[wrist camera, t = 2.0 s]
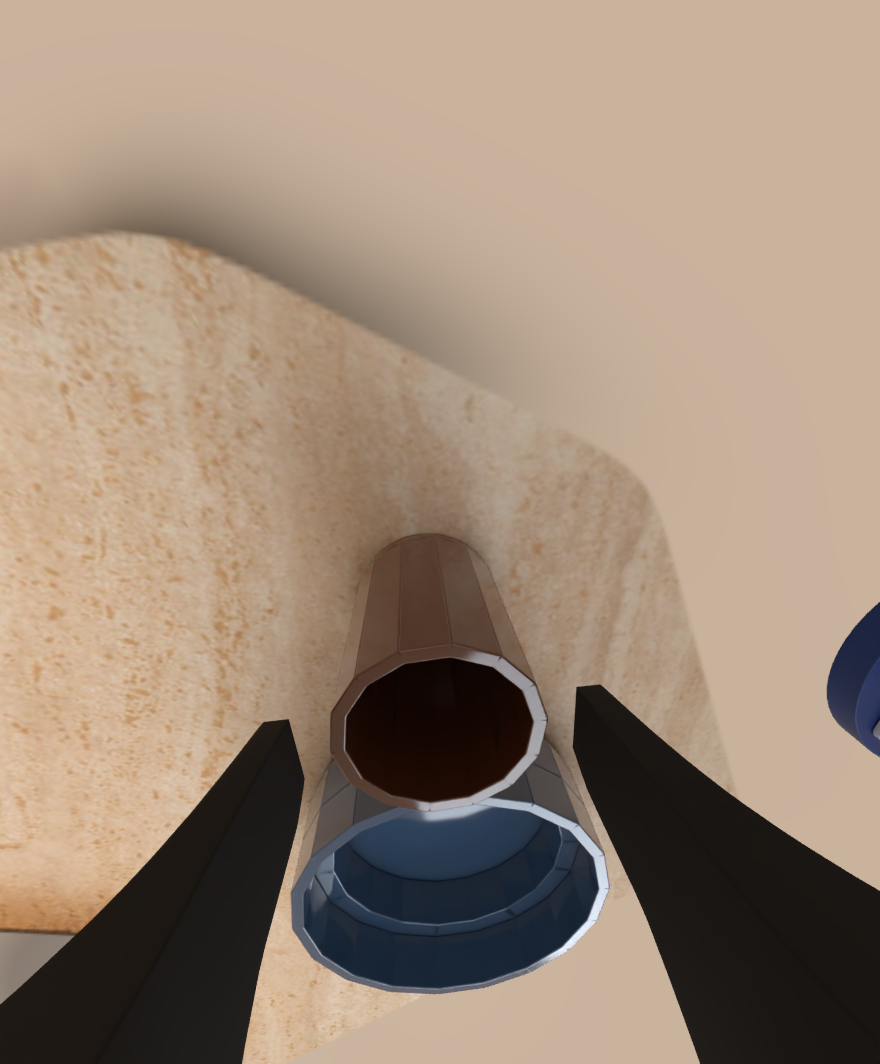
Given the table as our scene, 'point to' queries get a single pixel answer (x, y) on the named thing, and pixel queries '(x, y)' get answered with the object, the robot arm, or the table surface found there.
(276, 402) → the table surface
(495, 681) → the cup
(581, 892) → the bowl
